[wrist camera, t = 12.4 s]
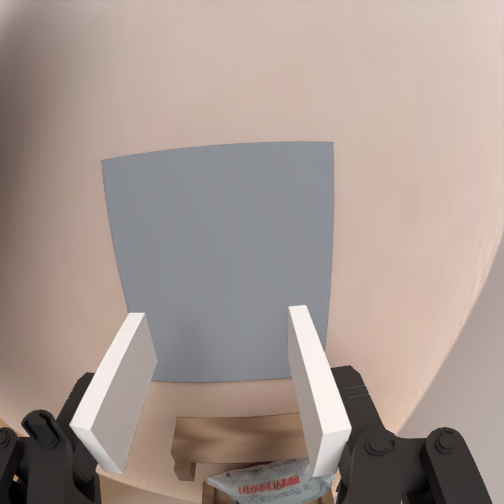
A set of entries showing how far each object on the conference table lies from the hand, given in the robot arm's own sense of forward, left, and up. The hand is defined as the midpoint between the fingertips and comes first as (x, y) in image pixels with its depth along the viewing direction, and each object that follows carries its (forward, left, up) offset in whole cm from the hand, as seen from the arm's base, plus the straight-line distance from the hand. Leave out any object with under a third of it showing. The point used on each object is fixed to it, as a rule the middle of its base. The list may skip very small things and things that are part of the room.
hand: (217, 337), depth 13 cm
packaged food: (+5, -20, -8) cm, 22 cm away
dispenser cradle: (+2, -22, -6) cm, 23 cm away
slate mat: (0, 0, -6) cm, 6 cm away
